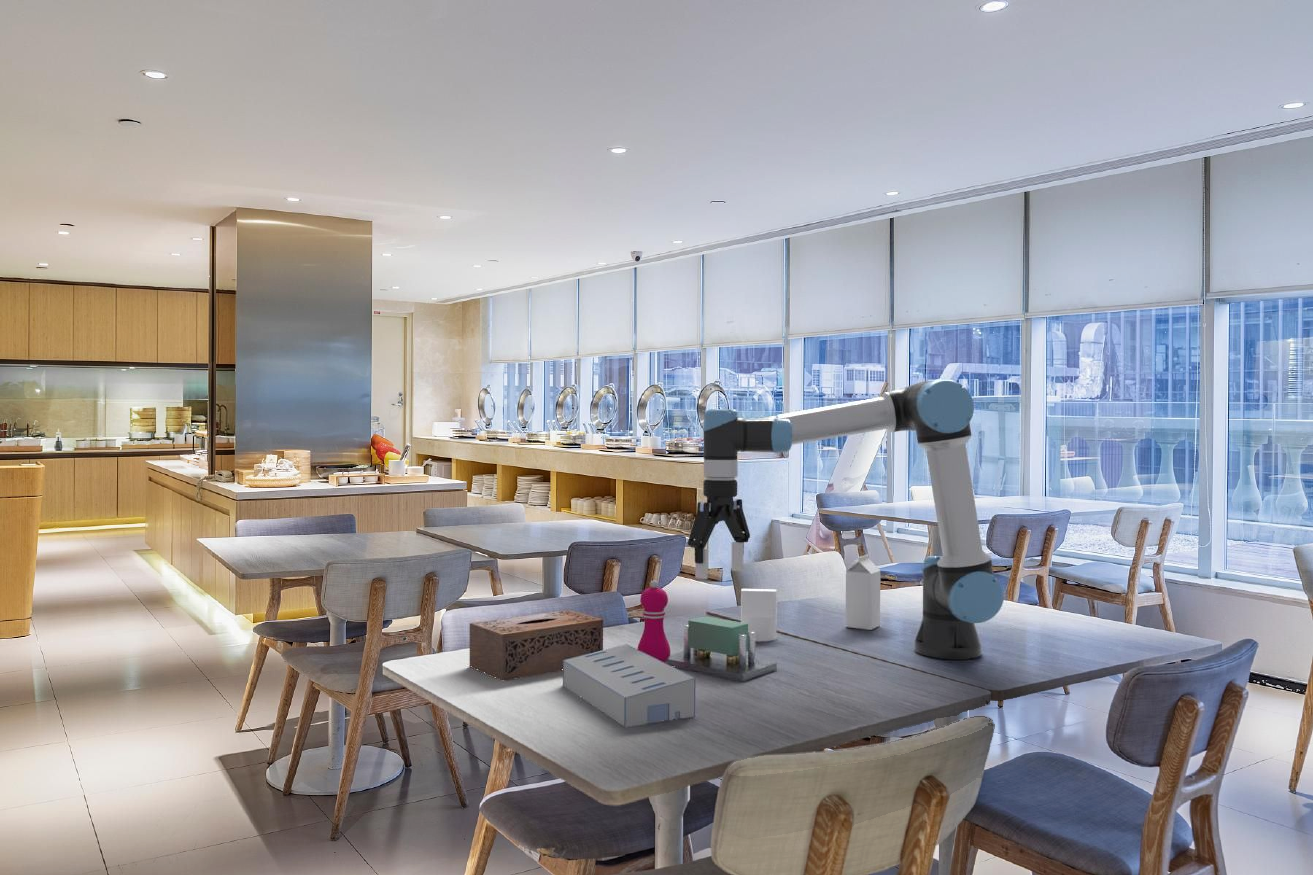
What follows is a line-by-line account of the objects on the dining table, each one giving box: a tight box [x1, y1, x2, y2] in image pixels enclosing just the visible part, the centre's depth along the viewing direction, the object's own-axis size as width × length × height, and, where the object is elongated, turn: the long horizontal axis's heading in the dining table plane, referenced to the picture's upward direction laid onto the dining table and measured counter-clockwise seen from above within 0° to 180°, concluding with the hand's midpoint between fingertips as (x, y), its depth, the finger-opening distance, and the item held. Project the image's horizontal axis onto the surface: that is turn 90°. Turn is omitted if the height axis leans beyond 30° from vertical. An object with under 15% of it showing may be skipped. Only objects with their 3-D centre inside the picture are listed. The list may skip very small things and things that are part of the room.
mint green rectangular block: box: [687, 615, 748, 656], centre depth 214 cm, size 12×6×6 cm, turn 50°
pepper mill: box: [636, 579, 671, 664], centre depth 209 cm, size 7×7×20 cm
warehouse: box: [562, 643, 697, 728], centre depth 188 cm, size 30×14×8 cm, turn 27°
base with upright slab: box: [740, 588, 778, 642], centre depth 244 cm, size 9×9×12 cm
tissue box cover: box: [469, 609, 604, 681], centre depth 215 cm, size 26×14×10 cm, turn 129°
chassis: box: [665, 624, 778, 683], centre depth 214 cm, size 22×13×8 cm, turn 50°
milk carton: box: [845, 553, 881, 631], centre depth 258 cm, size 7×7×19 cm
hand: (719, 574), depth 214 cm, fingers open, 13 cm apart
